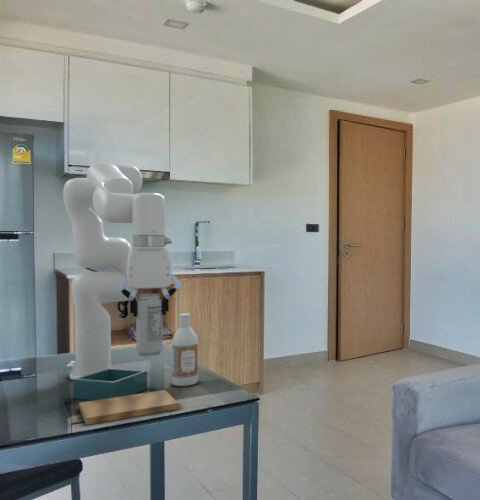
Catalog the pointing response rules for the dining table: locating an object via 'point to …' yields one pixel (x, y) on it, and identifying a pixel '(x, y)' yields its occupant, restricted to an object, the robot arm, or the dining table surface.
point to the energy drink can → (149, 325)
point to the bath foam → (185, 354)
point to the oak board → (127, 406)
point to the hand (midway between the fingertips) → (149, 314)
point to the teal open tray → (109, 384)
